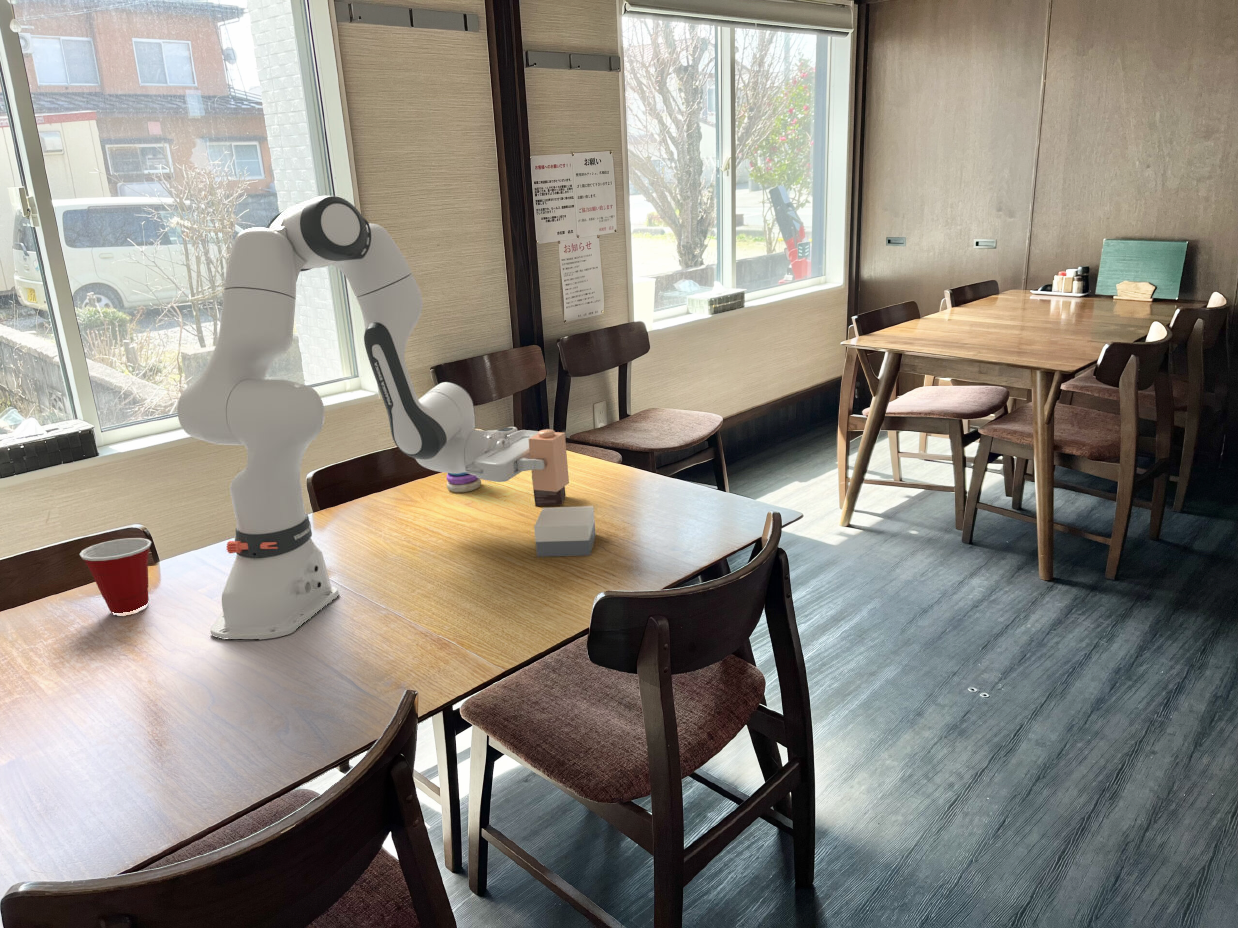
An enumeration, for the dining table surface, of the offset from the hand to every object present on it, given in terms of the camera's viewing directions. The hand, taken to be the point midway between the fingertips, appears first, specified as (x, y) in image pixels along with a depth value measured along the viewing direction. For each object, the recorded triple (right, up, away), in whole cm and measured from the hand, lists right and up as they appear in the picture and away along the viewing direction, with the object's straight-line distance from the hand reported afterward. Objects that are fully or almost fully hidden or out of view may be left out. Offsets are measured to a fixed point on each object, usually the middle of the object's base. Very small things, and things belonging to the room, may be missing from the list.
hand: (553, 458), depth 167 cm
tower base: (+2, -17, +4) cm, 17 cm away
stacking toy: (-24, -7, +41) cm, 48 cm away
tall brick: (-1, -5, +2) cm, 6 cm away
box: (-3, -9, +29) cm, 30 cm away
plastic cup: (-73, -27, -11) cm, 78 cm away
